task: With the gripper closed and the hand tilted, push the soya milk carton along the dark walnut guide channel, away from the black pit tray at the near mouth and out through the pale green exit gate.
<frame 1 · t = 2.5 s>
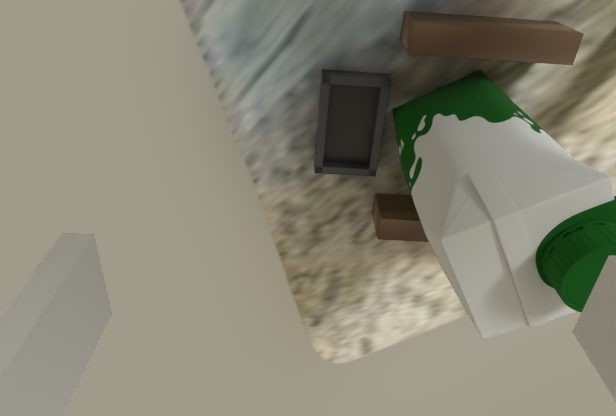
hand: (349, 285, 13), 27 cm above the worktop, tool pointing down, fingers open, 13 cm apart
soya milk: (447, 126, 39), on the worktop
pit tray: (349, 121, 39), on the worktop
channel: (454, 127, 39), on the worktop
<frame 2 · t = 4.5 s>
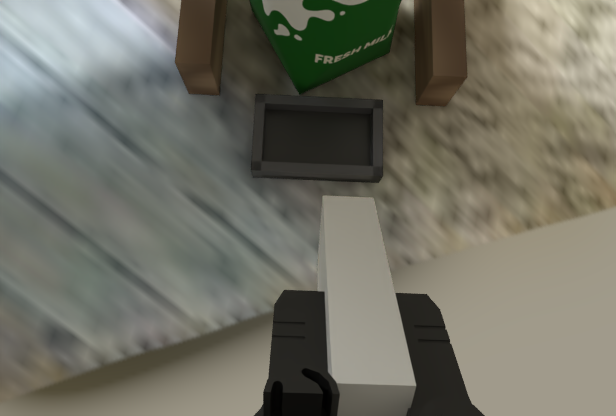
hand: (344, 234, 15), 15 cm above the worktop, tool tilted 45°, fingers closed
soya milk: (320, 34, 33), on the worktop
pit tray: (316, 142, 31), on the worktop
channel: (320, 25, 33), on the worktop
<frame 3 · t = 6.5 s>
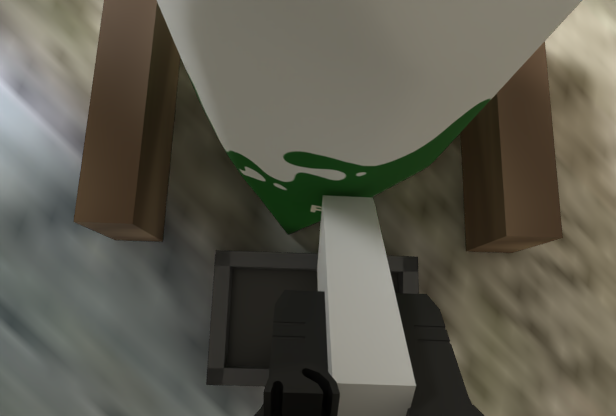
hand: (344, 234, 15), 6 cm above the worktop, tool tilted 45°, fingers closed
soya milk: (318, 134, 22), on the worktop, touching gripper
pit tray: (314, 318, 20), on the worktop
channel: (318, 126, 22), on the worktop
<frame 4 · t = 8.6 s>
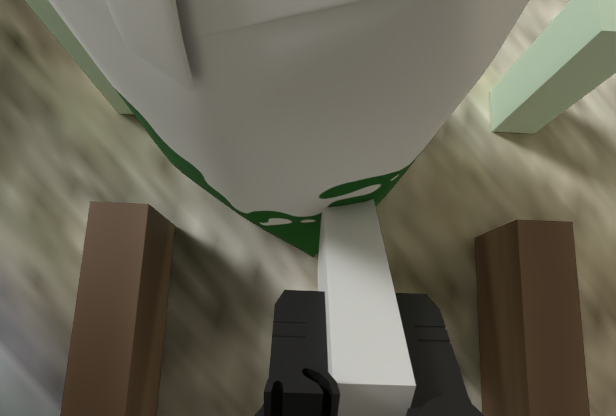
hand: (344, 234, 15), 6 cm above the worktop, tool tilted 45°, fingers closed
soya milk: (292, 152, 22), on the worktop, touching gripper
exit gate: (329, 103, 22), on the worktop
channel: (322, 364, 20), on the worktop
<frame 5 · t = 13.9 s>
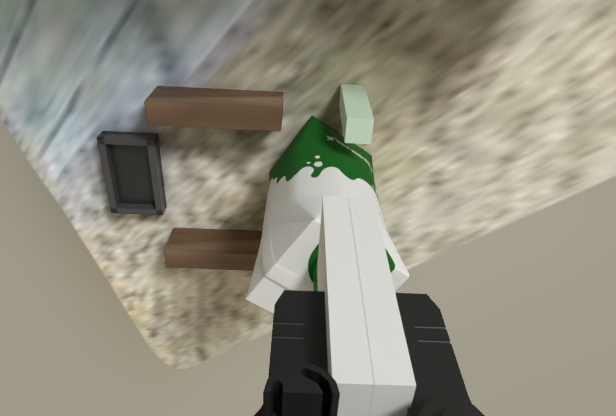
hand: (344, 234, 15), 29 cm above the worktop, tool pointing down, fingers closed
soya milk: (319, 162, 46), on the worktop
exit gate: (342, 180, 47), on the worktop
pit tray: (136, 170, 47), on the worktop
channel: (224, 174, 47), on the worktop
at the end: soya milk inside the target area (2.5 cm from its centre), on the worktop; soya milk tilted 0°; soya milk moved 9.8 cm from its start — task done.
